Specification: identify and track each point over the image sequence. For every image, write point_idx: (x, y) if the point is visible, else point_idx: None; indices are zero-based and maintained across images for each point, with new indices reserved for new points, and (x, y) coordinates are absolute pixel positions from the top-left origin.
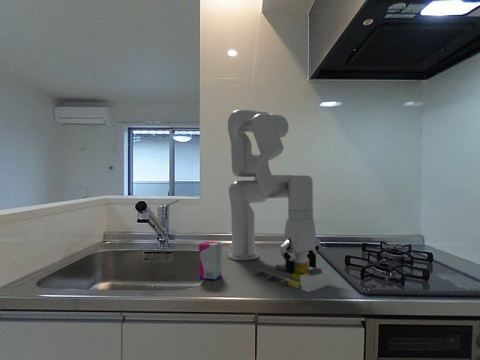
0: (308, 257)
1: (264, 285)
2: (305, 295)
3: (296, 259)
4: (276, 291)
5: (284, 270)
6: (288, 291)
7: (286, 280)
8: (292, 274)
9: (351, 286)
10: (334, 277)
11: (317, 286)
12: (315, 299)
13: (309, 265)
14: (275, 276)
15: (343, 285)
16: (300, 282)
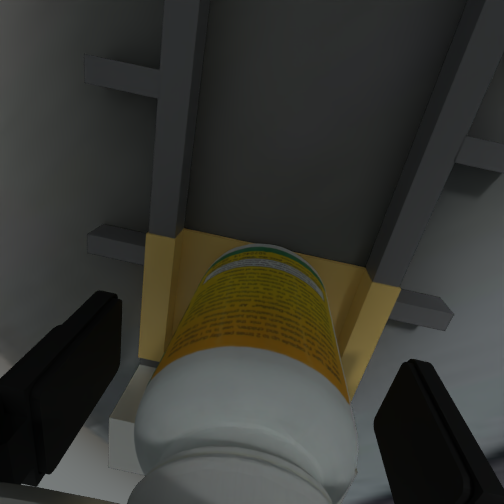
0: (435, 461)
1: (5, 130)
2: (102, 395)
3: (140, 460)
4: (10, 262)
5: (468, 6)
6: (70, 313)
7: (136, 260)
8: (197, 289)
9: (369, 499)
10: (486, 413)
11: None
12: (102, 437)
13: (396, 389)
14: (159, 114)
15: (361, 474)
16: (132, 378)
